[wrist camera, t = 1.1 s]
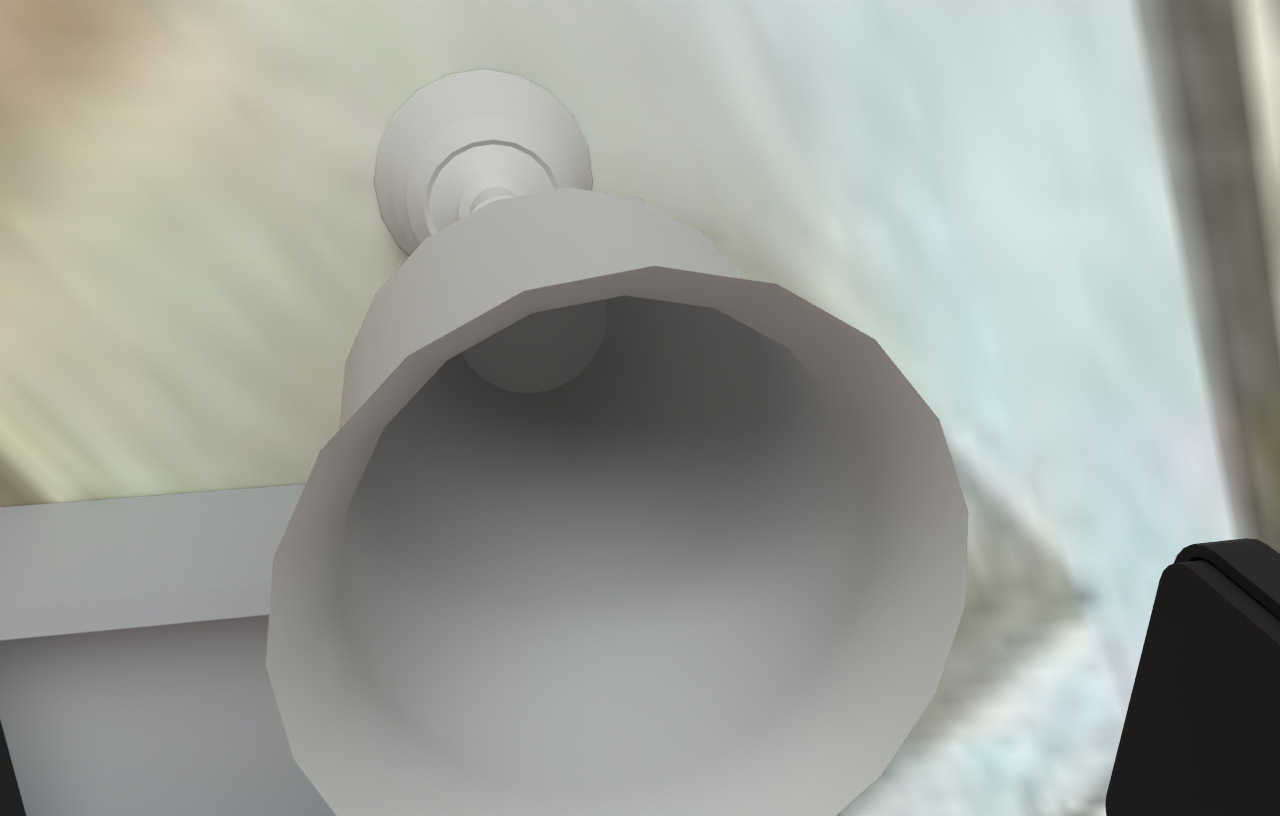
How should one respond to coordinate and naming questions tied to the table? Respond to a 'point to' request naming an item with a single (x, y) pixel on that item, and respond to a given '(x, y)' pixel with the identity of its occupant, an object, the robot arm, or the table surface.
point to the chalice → (602, 510)
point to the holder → (146, 657)
